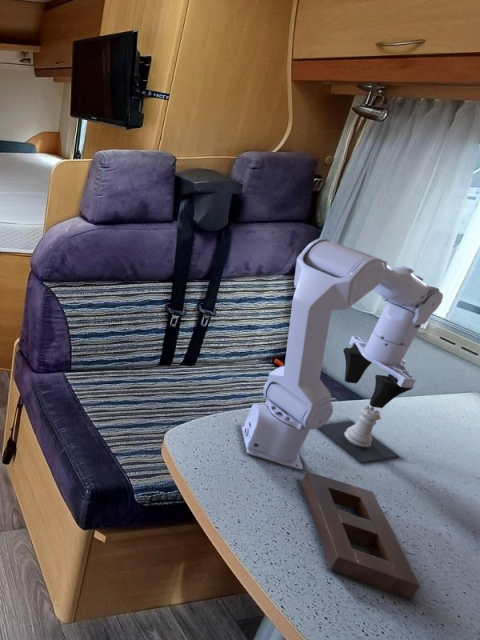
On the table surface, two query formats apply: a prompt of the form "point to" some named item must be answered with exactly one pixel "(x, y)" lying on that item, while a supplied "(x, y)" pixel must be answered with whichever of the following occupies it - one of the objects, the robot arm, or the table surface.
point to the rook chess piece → (363, 427)
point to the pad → (359, 453)
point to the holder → (357, 535)
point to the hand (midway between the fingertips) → (362, 393)
